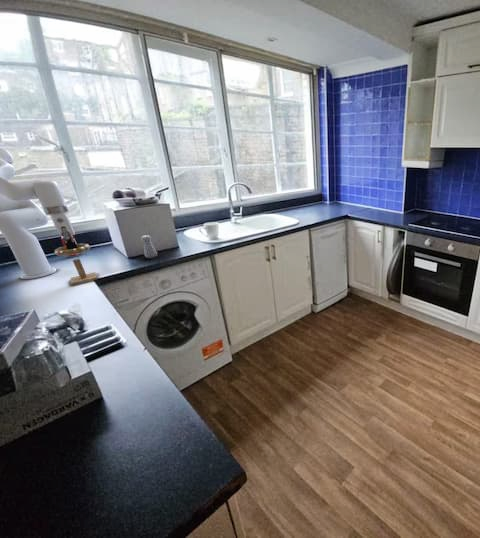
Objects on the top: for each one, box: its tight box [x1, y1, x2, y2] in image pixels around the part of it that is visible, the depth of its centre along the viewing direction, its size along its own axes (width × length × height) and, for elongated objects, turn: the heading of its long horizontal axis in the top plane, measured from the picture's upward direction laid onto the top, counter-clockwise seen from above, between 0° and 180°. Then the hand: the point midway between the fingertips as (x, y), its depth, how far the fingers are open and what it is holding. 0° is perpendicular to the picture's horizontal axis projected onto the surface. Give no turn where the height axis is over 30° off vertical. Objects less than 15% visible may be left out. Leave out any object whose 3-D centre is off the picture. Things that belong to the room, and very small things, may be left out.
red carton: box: [60, 234, 82, 258], centre depth 169 cm, size 6×6×12 cm
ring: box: [54, 243, 91, 257], centre depth 132 cm, size 12×12×2 cm
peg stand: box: [70, 258, 99, 287], centre depth 136 cm, size 9×9×10 cm
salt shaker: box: [140, 235, 158, 259], centre depth 160 cm, size 6×6×13 cm
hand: (73, 249), depth 136 cm, fingers closed on ring, 2 cm apart
